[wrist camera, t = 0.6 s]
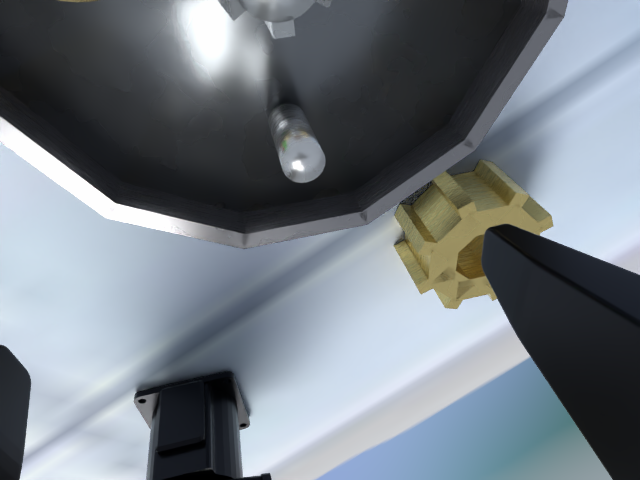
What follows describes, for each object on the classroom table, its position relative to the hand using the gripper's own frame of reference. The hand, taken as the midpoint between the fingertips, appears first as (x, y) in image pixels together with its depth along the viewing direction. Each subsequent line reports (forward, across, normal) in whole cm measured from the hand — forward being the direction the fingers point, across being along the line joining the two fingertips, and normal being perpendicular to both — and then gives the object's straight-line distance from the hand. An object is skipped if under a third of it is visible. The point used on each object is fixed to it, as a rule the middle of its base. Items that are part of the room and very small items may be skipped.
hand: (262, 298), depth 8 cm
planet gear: (+13, -11, +10) cm, 20 cm away
